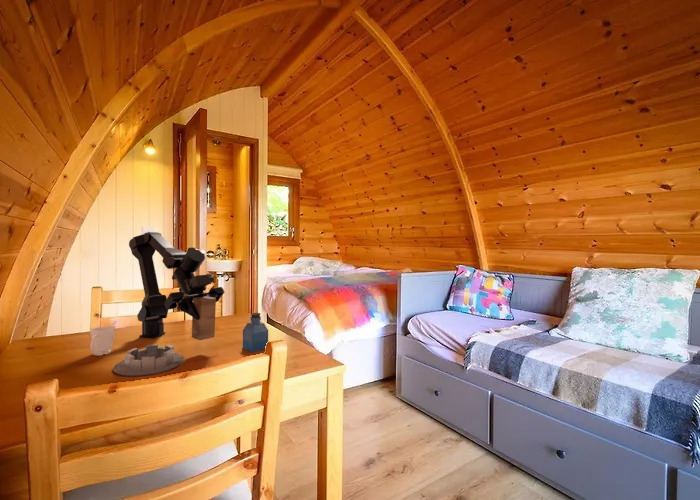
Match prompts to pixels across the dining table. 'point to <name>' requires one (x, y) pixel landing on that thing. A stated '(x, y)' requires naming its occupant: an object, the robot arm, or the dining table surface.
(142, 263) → the robot arm
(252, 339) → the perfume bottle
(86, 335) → the dining table surface
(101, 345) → the cup
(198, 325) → the walnut block
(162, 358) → the castellated ring
